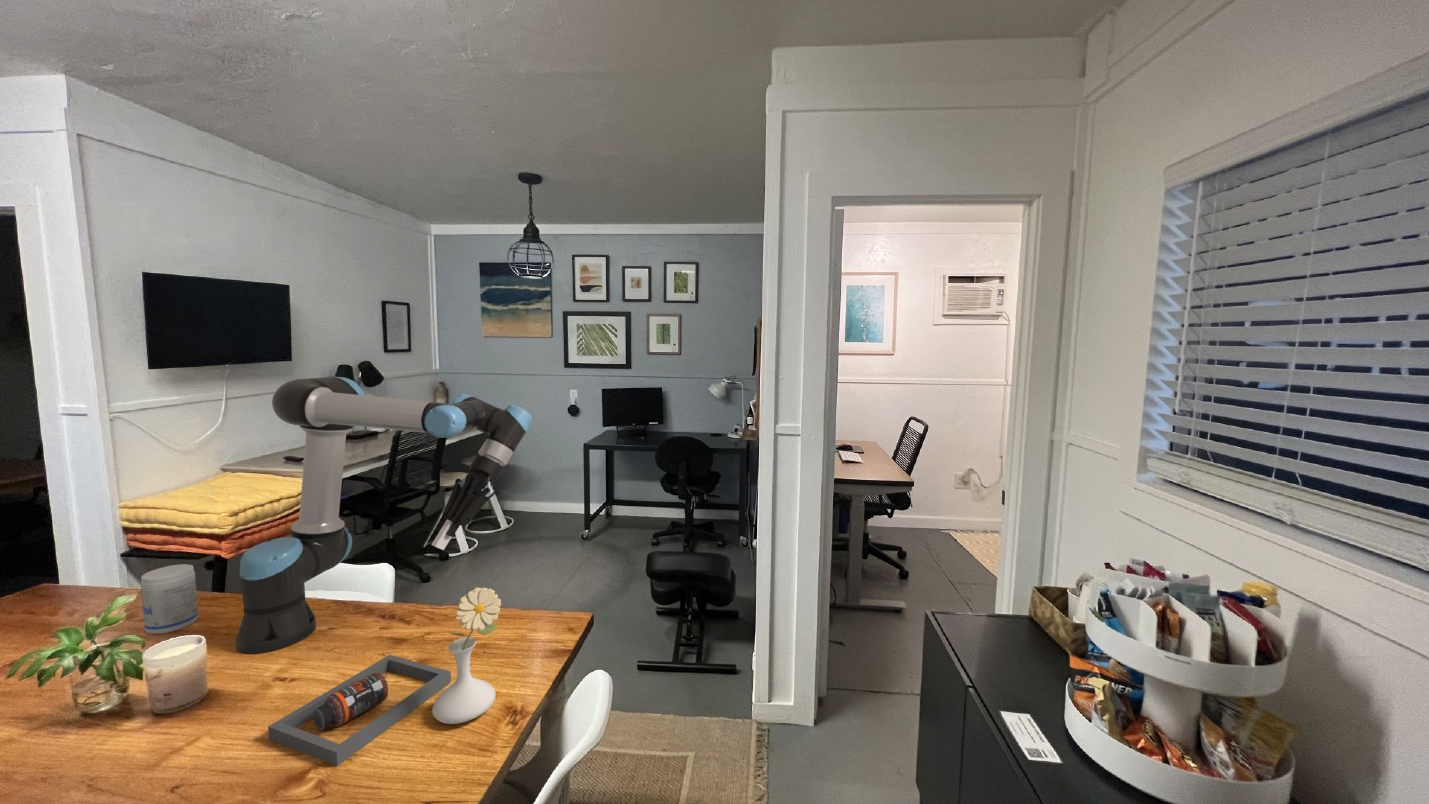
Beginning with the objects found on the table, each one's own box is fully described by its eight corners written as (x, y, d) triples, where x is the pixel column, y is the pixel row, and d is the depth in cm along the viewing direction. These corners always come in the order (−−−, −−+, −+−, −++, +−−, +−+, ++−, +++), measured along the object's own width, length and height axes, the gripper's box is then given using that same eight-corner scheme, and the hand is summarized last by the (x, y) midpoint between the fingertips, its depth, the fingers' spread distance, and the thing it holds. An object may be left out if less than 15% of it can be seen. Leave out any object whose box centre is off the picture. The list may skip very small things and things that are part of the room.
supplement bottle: (386, 671, 104) (323, 705, 94) (392, 701, 104) (329, 737, 94) (370, 670, 106) (307, 702, 96) (375, 698, 106) (313, 733, 96)
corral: (269, 739, 94) (268, 726, 94) (390, 665, 117) (389, 654, 116) (337, 766, 88) (336, 752, 88) (451, 682, 111) (450, 671, 111)
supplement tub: (136, 631, 130) (131, 575, 128) (185, 613, 139) (180, 561, 137) (158, 639, 127) (152, 581, 125) (207, 620, 135) (202, 566, 134)
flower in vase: (425, 735, 95) (419, 607, 93) (440, 696, 106) (435, 580, 104) (500, 722, 99) (496, 598, 97) (507, 685, 110) (504, 573, 107)
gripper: (517, 471, 132) (465, 559, 122) (484, 462, 138) (432, 545, 128) (498, 458, 126) (442, 549, 116) (464, 449, 133) (408, 535, 123)
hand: (437, 547), depth 122 cm, fingers closed
